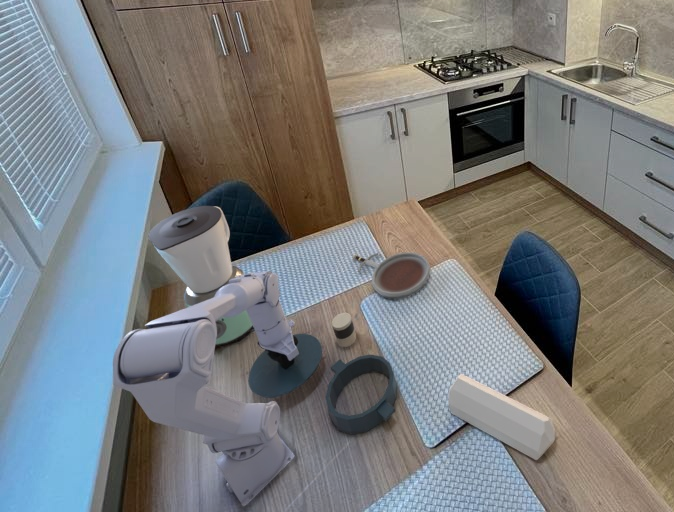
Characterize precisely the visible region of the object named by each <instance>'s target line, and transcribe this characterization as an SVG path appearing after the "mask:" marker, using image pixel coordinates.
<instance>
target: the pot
mask: <svg viewBox="0 0 674 512" xmlns="http://www.w3.org/2000/svg"><path fill="white" fill-rule="evenodd" d="M330 370H331V371H332V372H333V373H334V375H333V377H332V379H331V380H330V381H329V383H328V386H327V389H326V393H325V402H326V407H327V411H328V414H329V416H330V418H331V421H332V423H333V425H334V426H335V427H336V428H337V429H338V430H339V431H340V432H343V433H347V434H350V435H356V434H361V433H365V432H368V431H370V430H372V429H374V428H375V427H377V426H378V425H380V424H381V423H382V422H383V421H385V422H388V420H389V419H390V418H391V417H392V416H393V415H394V413H395V412H396V408H395V407H394V404H395V403H396V400H397V394H398V393H397V391H398V386H397V385H398V384H397V380H396V376H395V374H394V370H393V367H392V365H391V362H389V361H388V360H387V359H386V358H384V357H383V356H382V355H376V354H366V355H360V356H357V357H355V358H353V359H351V360H349V361H347V362H344V361H343V360H342V359H341V358H339V359H338V360H337V361H335V363H333V364H332V365H331V366H330ZM368 373H379V374H383V375H384V376H385V377H386V378H388V386H387V388H386V390H385V392H384V394H383V395H382V397H381V398H380V399H379V400H378V401H377V402H376V403H375V404H374V405H373V406H371V407H370V408H368V409H366V410H365V411H363V412H361V413H356V414H350V415H349V414H345V413H341V412H339V411H337V409H336V407H337V406H336V405H337V401H338V398H339V396H340V394H341V393H342V391H343V390H344V388H345V387H346V386H347V385H348V384H349V383H351V381H352V380H353V379H356V378H358V377H359V376H362V375H363V374H368Z"/></svg>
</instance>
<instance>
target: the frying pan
mask: <svg viewBox="0 0 674 512" xmlns="http://www.w3.org/2000/svg"><path fill="white" fill-rule="evenodd" d="M377 256H379V253H378V252H376V253H373V254H371V255H369V256H368V257H367V258H363V257H362V256H359V255H358V254H357V253H356V254H353V256H352V259H353V260H354V261H355V260H357V261H360V262H361V263H360V264H359V266H358V269H357V271H358V273H360V272H361V270H362V269H361V268H362V267H363V266H364V265H368V266H370V267H373V268H375V269H374V271H373V273H372V276H371V286H372V287H373V289H374V291H375V292H377V293H378V294H379V295H381V296H382V297H383V298H385V299H390V300H401V299H405V298H409V297H411V296H413V295H415V294H417V293H418V292H419V291H420V290H421V289H423V288H424V286H425V285H426V283H427V282H428V279H429V277H430V274H431V264H430V262H429V261H428V260H427V258H426V257H425V256H424V255H421V254H420V253H416V252H412V251H408V252H405V251H404V252H399V253H395V254H393V255H390V256H388V257H386V258H385V259H383V260H382V261H381V262H380V263H378V262H375V261H373V260H371V259H372V258H374V257H377Z"/></svg>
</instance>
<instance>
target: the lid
mask: <svg viewBox="0 0 674 512" xmlns="http://www.w3.org/2000/svg"><path fill="white" fill-rule="evenodd" d="M292 335H293V336H295V337H296V338H297V339H298V344H297V346H296V347H297V349H298V352H299V354H298V355H297V356H296V357H295V360H294V364H292V365H291V366H290V367H289V368H287V369H286V370H285V369H284V368H283V367H282V366H281V365H280V364H279V362H277V361H274V360H272V359H271V358H270V357H269V356H268V354H267V353H269V352H268V351H267V350H265V349H264V350H263V351H262V352H261V353H260V354H259V355H258V356H257V358H256V359H255V360H254V362H253V363H252V366H251V368H250V370H249V372H248V377H247V378H248V386H249V389H250V391H251V392H252V393H253V394H254V395H256V396H257V397H260V398H265V399H272V398H273V399H274V398H279V397H283V396H284V395H287V394H290V393H292V392H293V391H295V390H297V389H298V388H300V387H301V386H302V385H304V384H305V383H307V381H308V380H309V379H310V378H311V377H312V376H313V375H314V374H315V372H316V370H317V369H318V367H319V365H320V363H321V361H322V358H323V357H322V356H323V347H322V343H321V342H320V340H319V339H318V338H317V337H315V336H314V335H312V334H309V333H296V334H292Z"/></svg>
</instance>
